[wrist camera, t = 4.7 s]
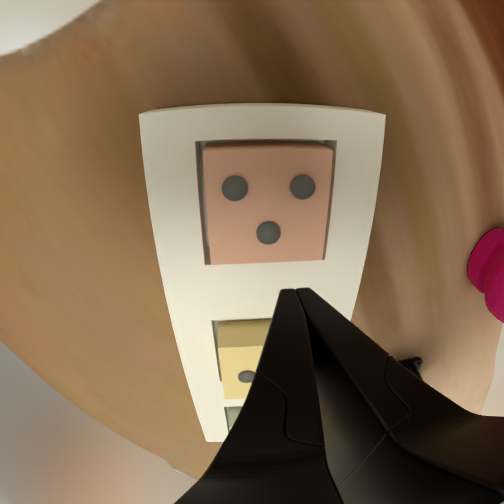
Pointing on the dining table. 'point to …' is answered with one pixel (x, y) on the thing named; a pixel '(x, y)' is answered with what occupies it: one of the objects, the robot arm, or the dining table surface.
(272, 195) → the three-pip tile
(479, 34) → the dining table surface
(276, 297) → the rail
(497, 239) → the pepper mill
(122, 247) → the dining table surface
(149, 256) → the dining table surface
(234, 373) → the tile
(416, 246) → the dining table surface
